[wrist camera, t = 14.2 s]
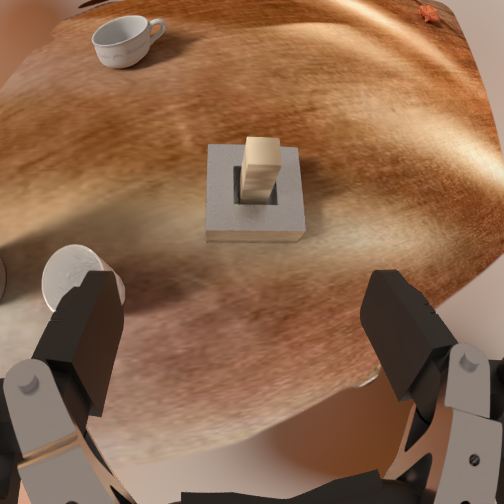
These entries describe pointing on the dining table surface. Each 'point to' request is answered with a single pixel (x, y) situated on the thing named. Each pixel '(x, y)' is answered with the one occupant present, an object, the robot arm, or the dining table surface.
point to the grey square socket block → (252, 216)
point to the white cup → (72, 272)
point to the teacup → (125, 40)
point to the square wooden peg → (259, 170)
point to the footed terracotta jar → (429, 13)
